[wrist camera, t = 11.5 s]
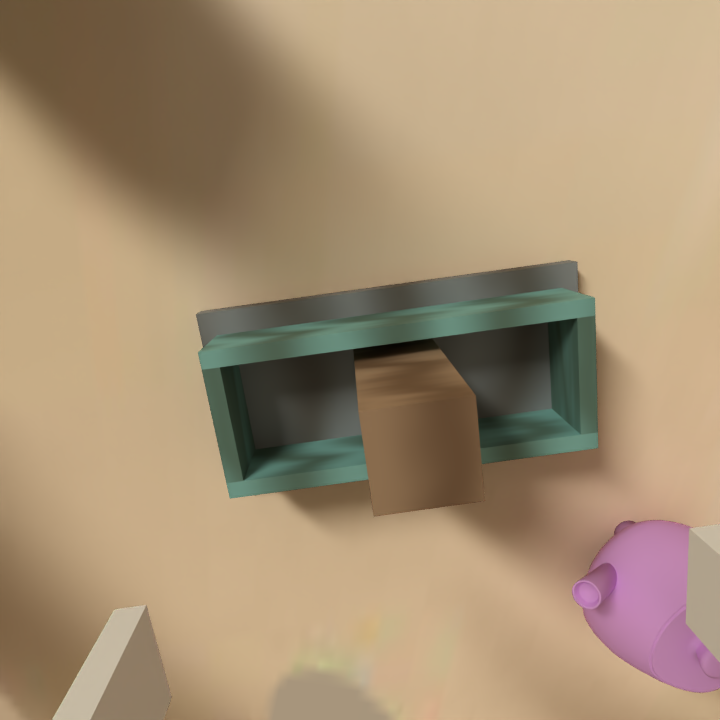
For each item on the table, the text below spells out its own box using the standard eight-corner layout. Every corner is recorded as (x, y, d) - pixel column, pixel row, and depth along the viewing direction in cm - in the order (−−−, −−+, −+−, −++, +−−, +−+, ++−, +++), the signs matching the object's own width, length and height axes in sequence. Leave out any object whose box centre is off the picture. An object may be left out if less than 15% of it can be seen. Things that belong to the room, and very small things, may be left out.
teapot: (674, 645, 42) (764, 760, 33) (508, 585, 40) (555, 689, 31) (746, 538, 40) (864, 631, 31) (574, 469, 38) (645, 546, 29)
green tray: (236, 478, 37) (218, 523, 32) (200, 311, 34) (173, 328, 29) (574, 432, 37) (615, 468, 32) (569, 260, 34) (612, 267, 29)
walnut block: (363, 419, 35) (373, 516, 24) (353, 347, 34) (358, 411, 23) (438, 409, 35) (484, 500, 24) (430, 336, 34) (475, 395, 22)
